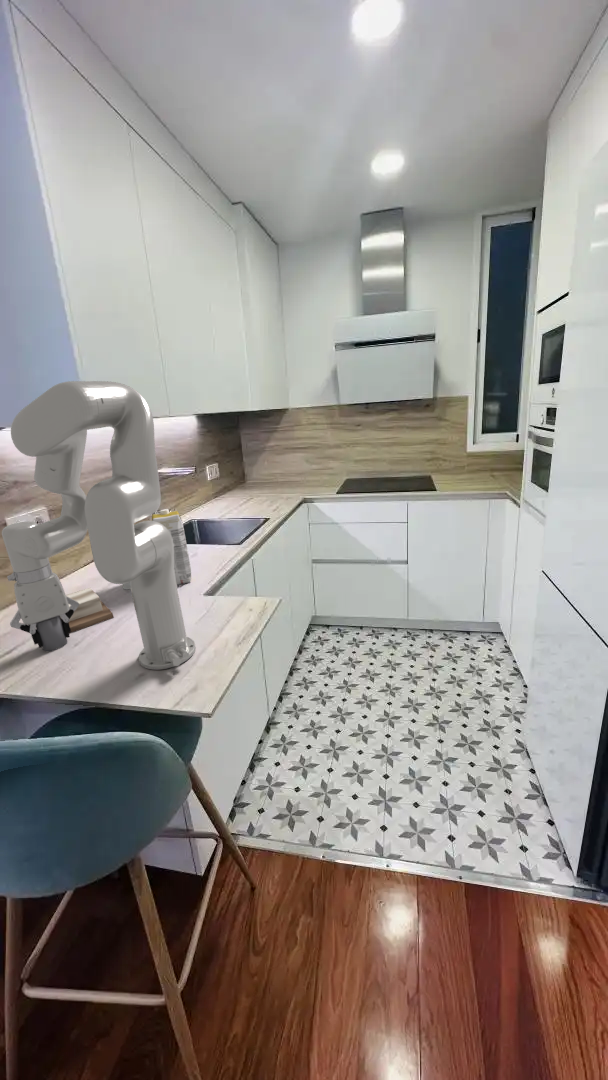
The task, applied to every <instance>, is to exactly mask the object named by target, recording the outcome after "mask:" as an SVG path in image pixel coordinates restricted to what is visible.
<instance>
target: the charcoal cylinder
mask: <svg viewBox="0 0 608 1080" xmlns="http://www.w3.org/2000/svg"><path fill="white" fill-rule="evenodd" d="M36 629H37V631H38V633H39V636H40V639H41V642H42V647H41V648H42V650H43V651H44V652H53V651H56V650H57V651H58V650H60V649H62V648H63V647H65V646H66V645H67V644H68V638H66V635H65V632H64V628H63V625H62V621H61V618H60V616H57V617H54V618H50V619H47V620H44V621H41V622H38V623H36Z"/></svg>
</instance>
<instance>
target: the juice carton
mask: <svg viewBox="0 0 608 1080" xmlns="http://www.w3.org/2000/svg"><path fill="white" fill-rule="evenodd" d="M159 512H160V513H153V514H151V521H155V522H158V523H160V524H162V525H164V526H165V527H166V528H167V529H168V531H169V532H170V534H171V536H172V540H173V546H174V571H175V578H176V584H177V586H178V585H183V584H189V583H191V581H192V579H191V578H192V567H191V561H190V557H189V556H190V555H189V551H188V545H187V540H186V539H187V538H186V534H185V528H184V523H183V520H182V517H181V515H180V513H179V511H178V510H173V511H169V508H166V509H161V510H160V511H159Z"/></svg>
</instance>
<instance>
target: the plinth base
mask: <svg viewBox="0 0 608 1080" xmlns="http://www.w3.org/2000/svg"><path fill="white" fill-rule="evenodd" d="M65 595H66V596H67V597H69V598H71V599H73V600H75V601H77V602H78V603H79V606H78V607H77V609H76V610H75V611H74V613H73V615H72V616H71V618H70V619H69V626H70V629H71V632H69V634H72V633H75V632H77V631H81V630H82V629H86V628H88V627H91V626H95V625H97V624H99V623H103V622H105V621H109V620H111V619H114V614H113V612H112V611H111V610H110V608H108V606H106V604H105V603H104V602H103V601H102V600H101V598H100V596H99V595H98V594H97V593H96V592H95V591H94V589H92V588H91V587H87V588H84V589H81V590H78V591H74V592H72V593H68V594H65ZM70 606H71V605H70V604H69V608H70ZM60 618H61V617H60ZM61 619H62V618H61Z"/></svg>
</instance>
